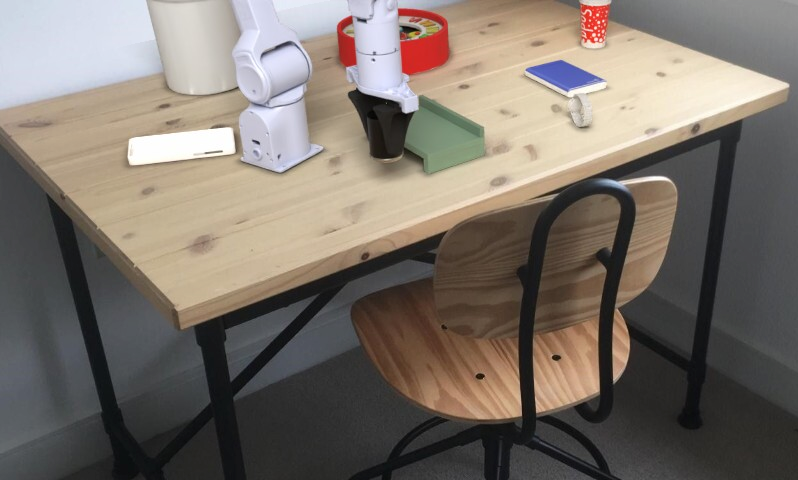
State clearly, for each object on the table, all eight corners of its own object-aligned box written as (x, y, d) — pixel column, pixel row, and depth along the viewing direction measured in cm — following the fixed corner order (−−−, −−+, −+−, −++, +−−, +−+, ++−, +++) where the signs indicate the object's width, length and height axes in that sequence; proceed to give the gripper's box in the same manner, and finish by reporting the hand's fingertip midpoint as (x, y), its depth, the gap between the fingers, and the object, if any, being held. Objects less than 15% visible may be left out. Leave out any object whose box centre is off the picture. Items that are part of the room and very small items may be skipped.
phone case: (233, 134, 148) (131, 146, 144) (232, 126, 147) (129, 137, 143) (236, 154, 142) (129, 166, 138) (234, 145, 141) (127, 158, 138)
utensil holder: (199, 104, 158) (178, -4, 148) (144, 84, 165) (121, -20, 155) (269, 78, 168) (253, -25, 158) (214, 60, 175) (196, -39, 165)
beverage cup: (572, 41, 184) (575, -35, 176) (602, 37, 185) (606, -37, 178) (583, 51, 179) (587, -26, 171) (614, 48, 181) (618, -29, 173)
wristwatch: (582, 118, 153) (583, 88, 150) (595, 130, 149) (597, 99, 146) (565, 120, 152) (566, 90, 149) (578, 132, 148) (579, 102, 145)
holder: (389, 165, 129) (386, 123, 125) (362, 157, 131) (358, 116, 127) (410, 153, 132) (407, 111, 129) (383, 145, 134) (380, 105, 131)
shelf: (428, 174, 136) (427, 145, 134) (369, 137, 147) (366, 110, 144) (484, 155, 142) (484, 127, 139) (423, 121, 152) (422, 94, 149)
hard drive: (606, 79, 163) (562, 58, 171) (568, 89, 159) (525, 67, 167) (606, 88, 164) (562, 67, 172) (568, 98, 160) (525, 76, 168)
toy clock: (468, 17, 177) (408, 49, 162) (469, 48, 180) (411, 83, 166) (378, 2, 185) (313, 32, 170) (380, 32, 188) (317, 64, 173)
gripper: (436, 56, 120) (440, 156, 128) (374, 27, 130) (382, 122, 137) (388, 68, 117) (395, 170, 124) (328, 38, 126) (339, 134, 134)
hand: (385, 146), depth 130 cm, fingers closed on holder, 4 cm apart
